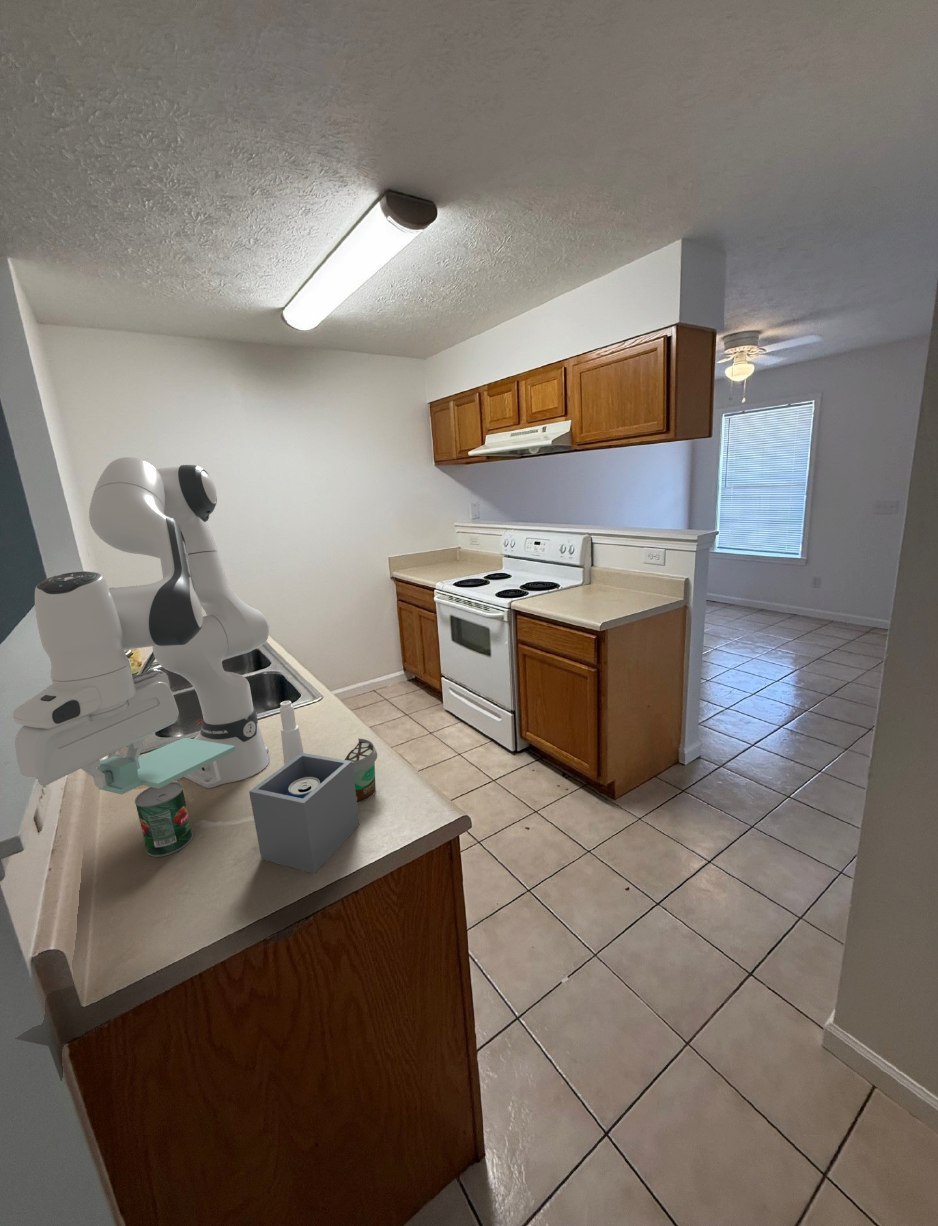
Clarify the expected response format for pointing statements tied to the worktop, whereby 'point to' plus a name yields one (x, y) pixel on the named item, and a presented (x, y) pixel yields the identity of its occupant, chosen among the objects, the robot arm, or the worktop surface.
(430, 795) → the worktop surface
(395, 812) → the worktop surface
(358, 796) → the food container
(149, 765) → the lid
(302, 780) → the beverage can
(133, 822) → the worktop surface
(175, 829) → the canned tomato
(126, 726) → the robot arm
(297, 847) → the tub
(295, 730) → the cosmetic bottle
